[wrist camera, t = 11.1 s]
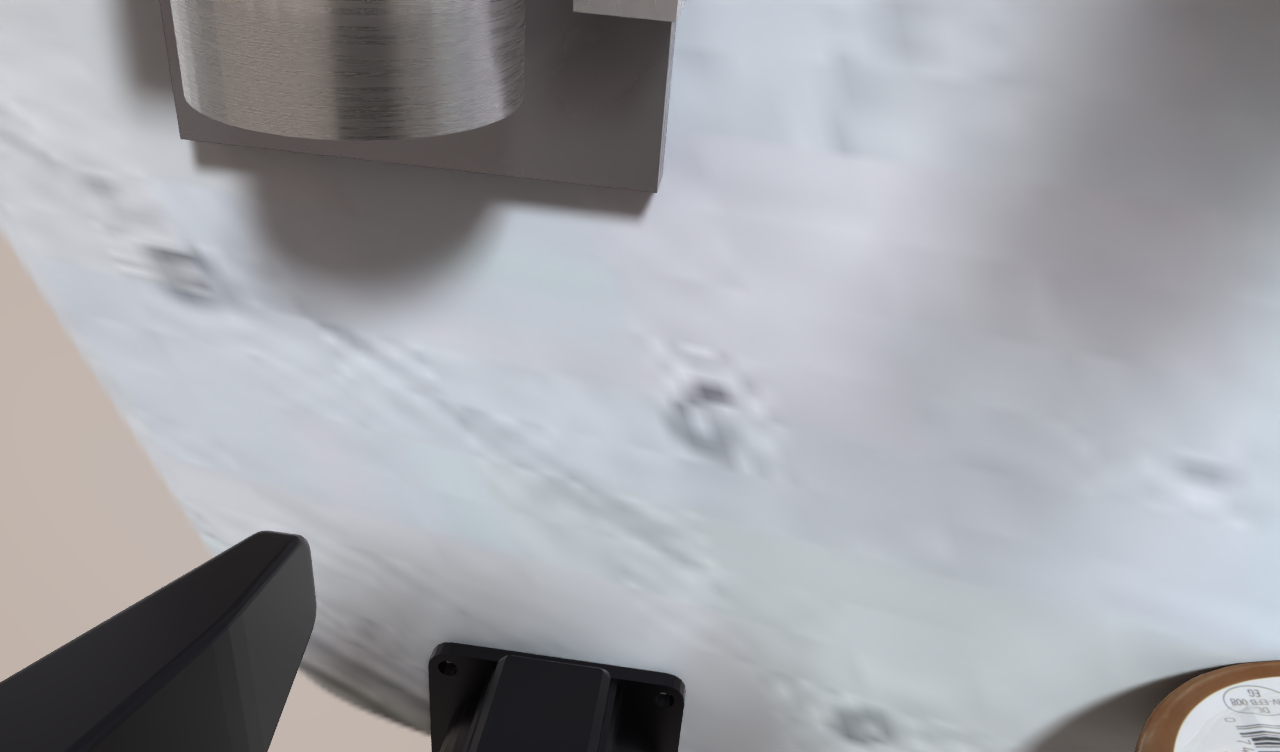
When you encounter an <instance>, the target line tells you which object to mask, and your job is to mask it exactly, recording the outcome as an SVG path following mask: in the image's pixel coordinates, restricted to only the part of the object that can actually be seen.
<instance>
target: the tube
mask: <svg viewBox="0 0 1280 752" xmlns="http://www.w3.org/2000/svg"><path fill="white" fill-rule="evenodd" d="M170 2H171V9H172V16H173V23H174V30H175V37H176V43H177V50H178V57H179V64H180V71H181V78H182V84H183V91H184V96H185V99H186V101H187V102H188V103H189V105H190V106H191V107H192V108H194V109H195V110H197V111H198V112H200V113H201V114H203V115H205V116H208V117H210V118H212V119H214V120H217V121H220V122H223V123H225V124H228V125H232V126H236V127H240V128H243V129H247V130H252V131H257V132H262V133H268V134H274V135H281V136H288V137H298V138H308V139H321V140H339V141H380V140H401V139H415V138H424V137H433V136H440V135H446V134H452V133H458V132H462V131H467V130H471V129H476V128H479V127H482V126H486V125H489V124H492V123H494V122H497V121H499V120H501V119H504V118H505V117H507V116H509V115H511V114H512V113H513V112H515V111H516V110H517V109H518V108H519V107H520V105H521V104H522V102H523V90H524V37H525V0H170Z"/></svg>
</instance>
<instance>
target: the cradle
mask: <svg viewBox="0 0 1280 752" xmlns="http://www.w3.org/2000/svg"><path fill="white" fill-rule="evenodd" d="M159 1H160V7H161V14H162V20H163V27H164V33H165V40H166V46H167V53H168V60H169V66H170V73H171V79H172V86H173V92H174V99H175V106H176V112H177V119H178V125H179V132H180V138H181V139H186V140H195V141H204V142H212V143H221V144H230V145H239V146H248V147H256V148H265V149H274V150H283V151H292V152H301V153H309V154H318V155H327V156H336V157H345V158H353V159H362V160H371V161H380V162H389V163H398V164H406V165H415V166H424V167H433V168H442V169H451V170H459V171H468V172H477V173H486V174H495V175H503V176H512V177H521V178H530V179H539V180H548V181H556V182H565V183H574V184H583V185H592V186H600V187H609V188H618V189H627V190H636V191H645V192H653V193H657V191H658V188H659V184H660V181H661V178H662V174H663V163H664V152H665V140H666V129H667V118H668V107H669V95H670V84H671V73H672V62H673V51H674V39H675V28H676V21H677V19H678V17H679V14H680V12H681V10H682V8H683V6H684V3H685V1H686V0H525V37H524V90H523V102H522V104H521V105H520V107H519V108H518V109H517V110H516V111H515V112H513V113H512V114H511V115H509V116H507V117H505V118H504V119H501V120H499V121H497V122H494V123H492V124H489V125H486V126H482V127H479V128H476V129H471V130H467V131H462V132H458V133H452V134H446V135H440V136H433V137H424V138H415V139H401V140H380V141H339V140H321V139H308V138H298V137H288V136H281V135H274V134H268V133H262V132H257V131H252V130H247V129H243V128H240V127H236V126H232V125H228V124H225V123H223V122H220V121H217V120H214V119H212V118H210V117H208V116H205V115H203V114H201V113H200V112H198V111H197V110H195V109H194V108H192V107H191V106H190V105H189V103H188V102H187V101H186V99H185V96H184V91H183V84H182V78H181V71H180V64H179V57H178V50H177V43H176V37H175V30H174V23H173V16H172V9H171V2H170V0H159Z"/></svg>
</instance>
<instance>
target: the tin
mask: <svg viewBox="0 0 1280 752" xmlns="http://www.w3.org/2000/svg"><path fill="white" fill-rule="evenodd" d="M1135 752H1280V661H1265V662H1252V663H1243V664H1237V665H1232V666H1227V667H1223V668H1220V669H1217V670H1213V671H1210V672H1207V673H1204V674H1202V675H1199V676H1197V677H1195V678H1192V679H1191V680H1189V681H1187V682H1185V683H1184V684H1182V685H1180V686H1179V687H1178V688H1176V689H1175V690H1173V691H1172V692H1171V693H1170V694H1168V695H1167V696H1166V697H1165V698H1164V699H1163V700H1162V701H1161V702H1160V703H1159V704H1158V705H1157V706H1156V707H1155V709H1154V710H1153V711H1152V713H1151V714H1150V716H1149V717H1148V719H1147V721H1146V723H1145V725H1144V726H1143V729H1142V731H1141V733H1140V736H1139V739H1138V743H1137V746H1136V750H1135Z"/></svg>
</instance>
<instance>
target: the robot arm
mask: <svg viewBox="0 0 1280 752" xmlns="http://www.w3.org/2000/svg"><path fill="white" fill-rule="evenodd" d="M315 617H316V596H315V587H314V578H313V569H312V560H311V552H310V547H309V544H308V542H307V540H306V539H305V538H304V537H302V536H300V535H296V534H289V533H282V532H274V531H260V532H257V533H255V534H253V535H251V536H250V537H248V538H246V539H244V540H243V541H241V542H239V543H238V544H236V545H234V546H233V547H231V548H229V549H227V550H226V551H224V552H222V553H221V554H219V555H217V556H215V557H214V558H212V559H210V560H209V561H207V562H205V563H204V564H202V565H200V566H199V567H197V568H195V569H194V570H192V571H190V572H188V573H186V574H185V575H183V576H181V577H180V578H178V579H176V580H174V581H173V582H171V583H169V584H168V585H166V586H164V587H162V588H161V589H159V590H157V591H156V592H154V593H152V594H151V595H149V596H147V597H145V598H144V599H142V600H140V601H139V602H137V603H135V604H134V605H132V606H130V607H128V608H127V609H125V610H123V611H121V612H120V613H118V614H116V615H115V616H113V617H111V618H110V619H108V620H106V621H104V622H103V623H101V624H99V625H98V626H96V627H94V628H93V629H91V630H89V631H87V632H86V633H84V634H82V635H81V636H79V637H77V638H75V639H74V640H72V641H70V642H69V643H67V644H65V645H63V646H62V647H60V648H59V649H57V650H55V651H53V652H51V653H50V654H48V655H46V656H45V657H43V658H41V659H39V660H38V661H36V662H34V663H33V664H31V665H29V666H28V667H26V668H24V669H23V670H21V671H19V672H17V673H16V674H14V675H12V676H10V677H9V678H7V679H5V680H4V681H2V682H0V752H267V751H268V748H269V746H270V743H271V740H272V738H273V735H274V732H275V729H276V727H277V724H278V722H279V719H280V716H281V713H282V711H283V708H284V705H285V703H286V700H287V697H288V695H289V692H290V689H291V687H292V684H293V681H294V678H295V676H296V673H297V671H298V668H299V665H300V662H301V660H302V657H303V654H304V652H305V649H306V646H307V644H308V641H309V638H310V636H311V633H312V630H313V626H314V622H315ZM446 661H449V662H452V663H454V664H450V663H447V662H446ZM429 691H430V717H431V742H432V752H678V745H679V738H680V731H681V723H682V716H683V709H684V701H685V692H686V690H685V685H684V683H683V682H682V680H681V679H679V678H678V677H676V676H674V675H670V674H666V673H660V672H653V671H646V670H639V669H632V668H625V667H618V666H611V665H604V664H597V663H590V662H583V661H576V660H569V659H562V658H556V657H549V656H542V655H535V654H528V653H521V652H514V651H507V650H500V649H493V648H486V647H479V646H472V645H465V644H458V643H442V644H439V645H438V646H437V647H436V648H435V649H434V651H433V654H432V656H431V658H430V661H429ZM660 693H668V694H670V695H663V694H660Z"/></svg>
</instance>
